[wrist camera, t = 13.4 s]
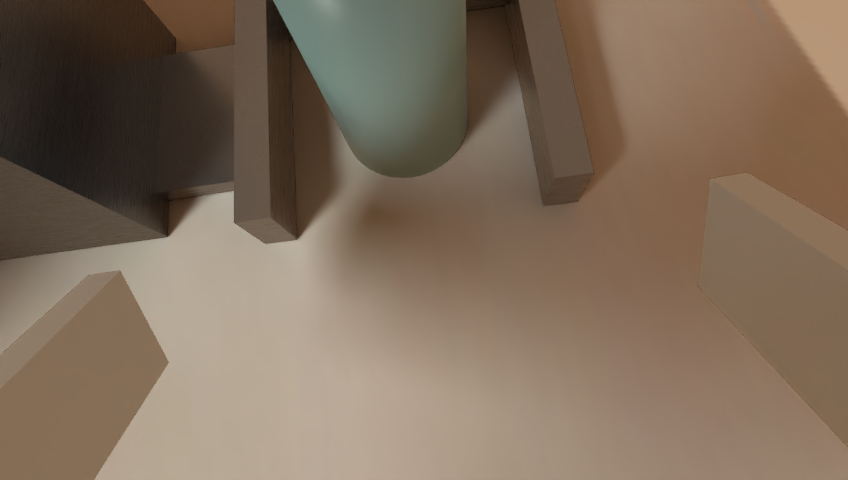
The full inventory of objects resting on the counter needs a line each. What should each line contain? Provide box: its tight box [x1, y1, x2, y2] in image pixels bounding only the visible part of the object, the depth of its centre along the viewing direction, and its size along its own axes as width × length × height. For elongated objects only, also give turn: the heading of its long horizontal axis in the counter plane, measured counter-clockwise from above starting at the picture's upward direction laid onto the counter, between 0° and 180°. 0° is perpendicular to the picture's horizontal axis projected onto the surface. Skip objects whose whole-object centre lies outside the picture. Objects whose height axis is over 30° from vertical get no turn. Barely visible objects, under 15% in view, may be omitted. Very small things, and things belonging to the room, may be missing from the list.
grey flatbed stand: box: [0, 0, 594, 260], centre depth 15 cm, size 10×24×10 cm, turn 96°
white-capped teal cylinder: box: [273, 0, 468, 178], centre depth 14 cm, size 5×5×10 cm
